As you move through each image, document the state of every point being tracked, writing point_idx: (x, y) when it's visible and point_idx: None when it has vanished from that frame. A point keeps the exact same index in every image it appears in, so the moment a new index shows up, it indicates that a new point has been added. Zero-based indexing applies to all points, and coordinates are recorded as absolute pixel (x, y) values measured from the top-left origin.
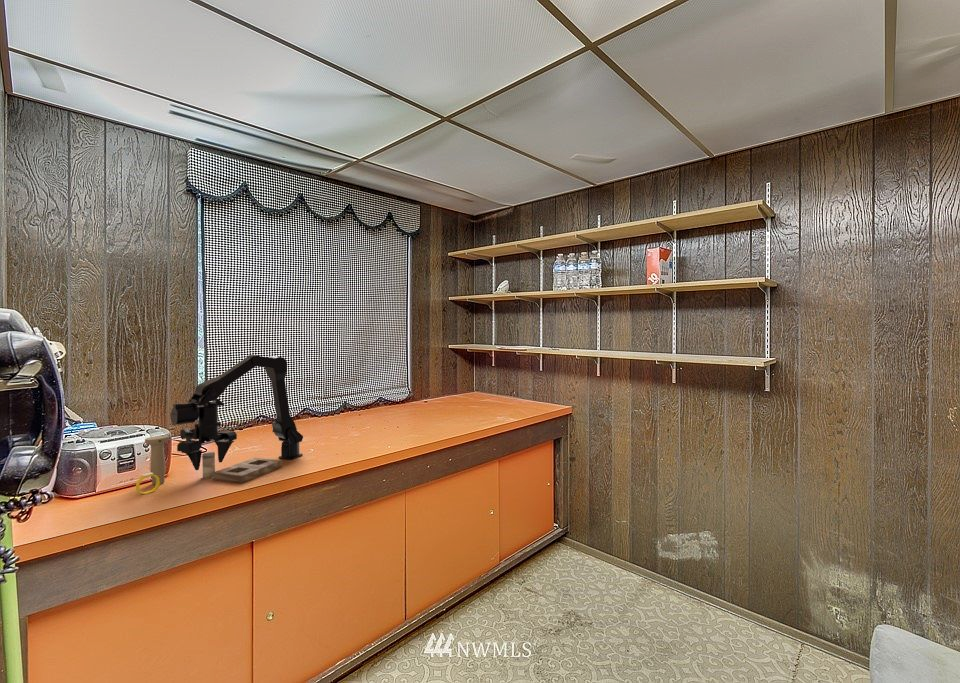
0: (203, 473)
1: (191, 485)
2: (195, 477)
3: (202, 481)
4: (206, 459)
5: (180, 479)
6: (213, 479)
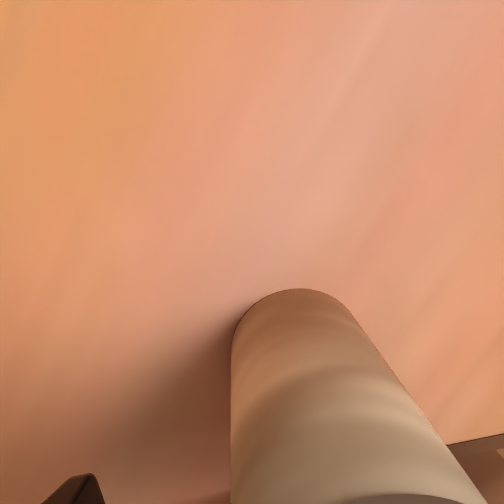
0: (231, 385)
1: (28, 466)
2: (202, 226)
3: (165, 439)
4: None
5: (47, 130)
6: None
